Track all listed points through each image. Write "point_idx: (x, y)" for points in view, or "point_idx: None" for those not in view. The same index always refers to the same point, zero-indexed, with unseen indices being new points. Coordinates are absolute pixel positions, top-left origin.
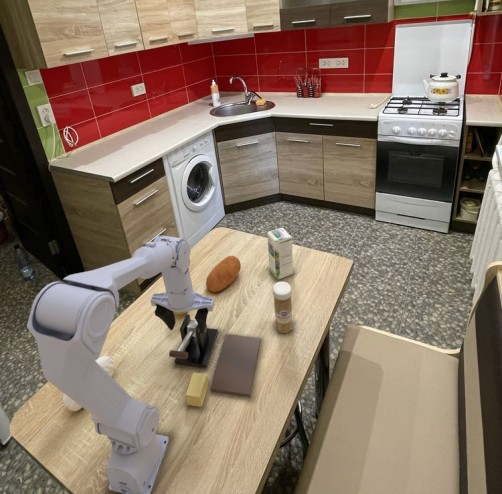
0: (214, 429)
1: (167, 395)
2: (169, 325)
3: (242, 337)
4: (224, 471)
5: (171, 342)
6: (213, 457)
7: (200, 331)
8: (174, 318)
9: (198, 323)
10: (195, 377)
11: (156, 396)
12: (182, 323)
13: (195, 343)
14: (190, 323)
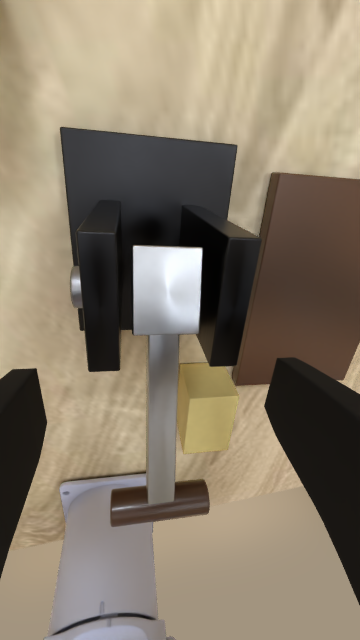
0: (250, 438)
1: (104, 406)
2: (22, 505)
3: (353, 188)
4: (273, 478)
5: (4, 224)
6: (252, 470)
7: (280, 434)
8: (15, 407)
9: (346, 561)
10: (202, 412)
11: (71, 413)
12: (87, 324)
13: (141, 243)
14: (144, 291)
